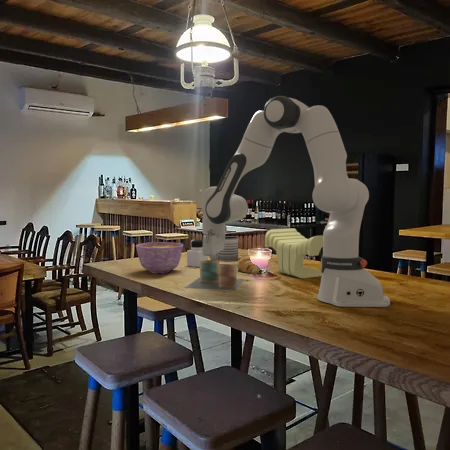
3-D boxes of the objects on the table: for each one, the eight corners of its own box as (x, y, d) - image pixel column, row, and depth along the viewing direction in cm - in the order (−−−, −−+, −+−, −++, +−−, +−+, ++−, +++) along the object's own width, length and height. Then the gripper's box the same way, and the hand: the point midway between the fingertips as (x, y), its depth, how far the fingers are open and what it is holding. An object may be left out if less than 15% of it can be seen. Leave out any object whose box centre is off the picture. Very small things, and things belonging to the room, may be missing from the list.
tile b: (236, 286, 165) (236, 264, 165) (235, 287, 164) (235, 265, 163) (220, 285, 167) (220, 263, 166) (218, 286, 165) (218, 264, 164)
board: (244, 282, 177) (244, 280, 177) (234, 292, 160) (234, 290, 160) (198, 279, 181) (198, 277, 181) (184, 289, 164) (184, 287, 164)
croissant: (263, 283, 192) (272, 266, 193) (243, 273, 189) (251, 255, 190) (246, 273, 212) (254, 257, 213) (227, 263, 209) (235, 248, 210)
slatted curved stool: (264, 270, 202) (265, 229, 201) (293, 267, 210) (294, 228, 209) (309, 282, 176) (310, 236, 175) (340, 278, 184) (341, 234, 182)
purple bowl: (129, 270, 202) (129, 243, 201) (172, 266, 212) (172, 241, 211) (145, 278, 185) (145, 249, 184) (191, 273, 195) (191, 246, 194)
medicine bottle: (208, 265, 216) (208, 239, 215) (199, 267, 210) (199, 241, 209) (195, 263, 219) (195, 238, 218) (186, 265, 213) (186, 239, 212)
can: (212, 260, 230) (212, 236, 229) (219, 257, 241) (219, 233, 240) (234, 261, 227) (234, 236, 226) (241, 258, 238) (241, 234, 237)
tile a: (219, 281, 174) (219, 260, 173) (218, 282, 172) (218, 261, 172) (201, 280, 176) (201, 259, 175) (200, 281, 174) (200, 260, 173)
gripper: (215, 231, 167) (215, 269, 168) (227, 226, 187) (227, 260, 188) (198, 231, 169) (198, 268, 170) (212, 226, 189) (212, 260, 190)
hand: (213, 264), depth 179 cm, fingers closed
